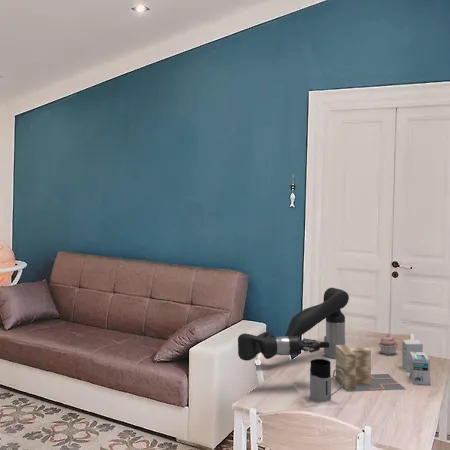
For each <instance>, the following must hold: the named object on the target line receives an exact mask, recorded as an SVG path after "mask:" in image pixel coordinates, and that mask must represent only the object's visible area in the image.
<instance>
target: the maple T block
mask: <svg viewBox="0 0 450 450" xmlns="http://www.w3.org/2000/svg"><path fill="white" fill-rule="evenodd" d="M335 369H341V370H342V371H343V373H344V383H343V387H344V388H345V389H356V384H371V374H372V371H371V370H372V350H371V349H370V348H369V347H348V346H347V345H346V344H345V345H336V358H335ZM335 376H336V378H337V379H336V378H335V379H336V381H337V380H338V381H339V382H340V383H341V384H342V382H343V374H342V372H341V371H340V370H336V371H335ZM338 381H337V382H338ZM339 382H338V383H339ZM340 383H339V384H340ZM341 384H340V385H341ZM343 387H342V388H343ZM344 388H343V389H344ZM345 389H344V390H345Z"/></svg>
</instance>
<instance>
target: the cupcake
mask: <svg viewBox="0 0 450 450" xmlns="http://www.w3.org/2000/svg"><path fill="white" fill-rule="evenodd" d="M378 345H379V347H380V352H381V354H382V355H385V356H394V355H395V354H396V352H397V351H396V350H397V349H398V346H399V344H398V343H397V340H396V339H395V338H394V336H393V335H392V334H389V333H388V334H386V335H385V336H382V337H381V339H380V342H379V343H378Z"/></svg>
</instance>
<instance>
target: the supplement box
mask: <svg viewBox="0 0 450 450" xmlns="http://www.w3.org/2000/svg"><path fill="white" fill-rule="evenodd" d="M401 343H402V347H401V348H402V349H401V350H402V352H401V353H402V354H401V355H402V356H401V357H402V359H401V360H402V361H401V363H402V364H401V365H402V368H403V369H404V370H405V372H407V373H408V372H409V373H410V352H424V350H423V349H424V344H423V343H422V342H421V341H420V340H419V339H402V341H401Z"/></svg>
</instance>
